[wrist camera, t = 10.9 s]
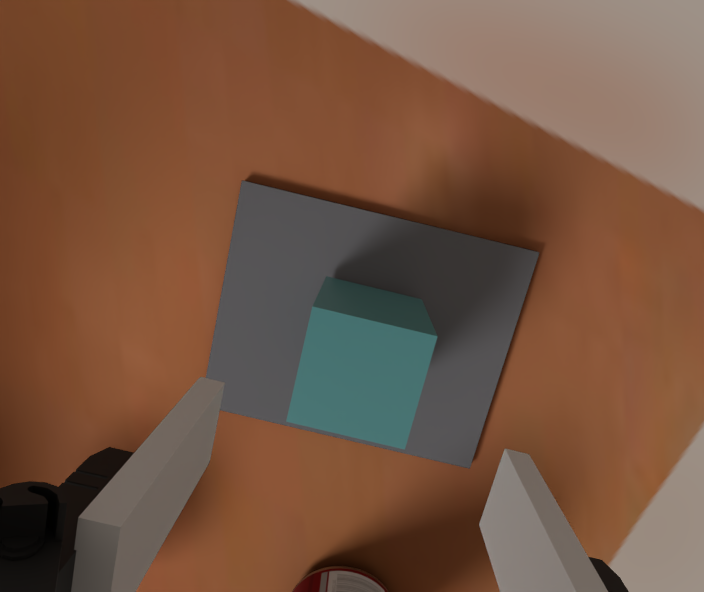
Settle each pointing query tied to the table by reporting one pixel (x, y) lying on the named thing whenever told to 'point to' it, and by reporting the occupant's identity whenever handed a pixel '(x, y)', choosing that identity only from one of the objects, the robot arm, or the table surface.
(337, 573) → the soda can
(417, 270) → the grey square base plate
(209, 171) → the table surface
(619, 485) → the table surface
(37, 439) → the table surface
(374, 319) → the teal block
